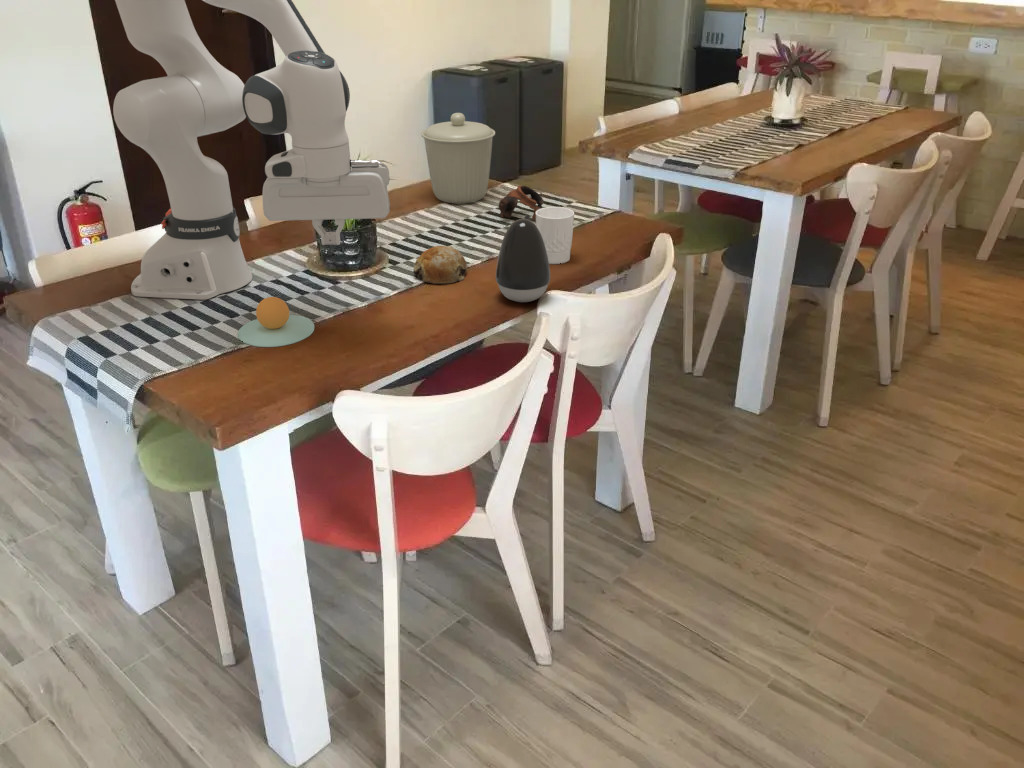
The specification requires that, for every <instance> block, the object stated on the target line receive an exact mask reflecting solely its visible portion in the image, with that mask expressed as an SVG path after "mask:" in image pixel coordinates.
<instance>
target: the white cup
mask: <svg viewBox="0 0 1024 768" xmlns="http://www.w3.org/2000/svg"><path fill="white" fill-rule="evenodd" d="M574 218H575V212H574V210H573V209H570V208H567V207H563V206H562V207H561V206H547V207H542V208H541V209H539V210H537V211H536V220H535V225H536V226H537V228H538V229H539V231H540V233H541V235H542V238H543V241H544V244H545V248H546V251H547V256H548V261H549V265H561V264H565V263H567V262H569V261H570V259H571V251H572V249H571V248H572V244H573V243H572V242H573V235H574V233H573V232H574V220H575V219H574ZM560 263H561V264H560Z"/></svg>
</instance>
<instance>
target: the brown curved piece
mask: <svg viewBox="0 0 1024 768" xmlns="http://www.w3.org/2000/svg"><path fill="white" fill-rule="evenodd" d="M528 195H530V197H529V196H528ZM518 203H520V204H523V205H524V206H526V207H529V208H530V209H532V210H533V214H532V215H531V216H532V217H531V219H532V220H533V221H536V211H537V210H539V209H541V208H543V205H544V203H545V201H544V198H543V197H542V196H541V195H540V194H539V193H538V192H537V191H536V190H534V189H533V188H531V187H529V186H526V185H521V184H520V185H518V186H517V188H515V189H512V190H510V191H509V192H508V193H507V194H506V196H504V197H503V198H501V199H500V200H499V202H498V209H499V211H500V213H499V216H500V217H501V219H504V217H505V218H508V219H510V218H512V216H513V212H514V210H515V209H516V207H517V206H518Z"/></svg>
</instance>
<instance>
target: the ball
mask: <svg viewBox="0 0 1024 768" xmlns="http://www.w3.org/2000/svg"><path fill="white" fill-rule="evenodd" d="M255 314H256V315H255V316H256V319H258V321H259V322H260V324H261V325H263V326H264V327H266V328H269V329H277V328H280V327H282V326H283V325H285V323H286V322H287V321H288V318H289V315H290V309H289V305H288V304H287V303H286V301H284V299H281V298H280V297H277V296H269V297H265V298H264V299H262V300H260V301H259V303H258V305H257V307H256V310H255Z"/></svg>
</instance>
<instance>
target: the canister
mask: <svg viewBox="0 0 1024 768" xmlns="http://www.w3.org/2000/svg"><path fill="white" fill-rule="evenodd" d="M420 134H421V137H422V138H423V139H424V146H425V152H426V159H427V165H428V172H429V177H430V183H431V187H432V192H433V195H434V196H435V197H436V198H437V200H439V201H442V202H444V203H447V204H462V205H463V204H472V203H475V202H478V201H480V200H482V199H483V198H484V197H485V195H486V194H487V191H488V187H489V180H490V171H491V160H492V149H493V137H494V136H495V135H496V131H495V130H494V129H493V128H491V127H489V125H487V124H484V123H481V122H478V121H477V122H476V121H467V120H466V117H465V115H464V113H462V112H455V113H454V112H453V114H451V115H450V121H444V122H443V121H442V122H438V123H437V122H436V123H434V124H432V125H429V126H428V127H427V128H425V129H424V130H423V131H421V133H420Z"/></svg>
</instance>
